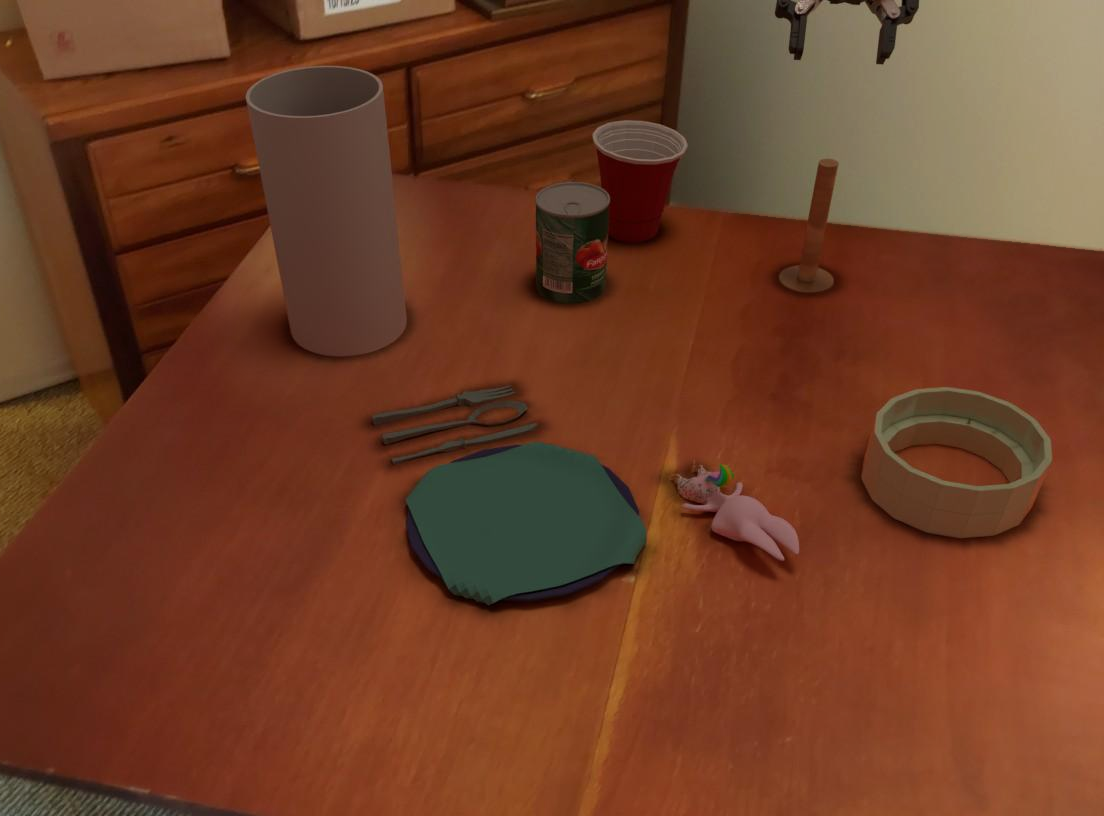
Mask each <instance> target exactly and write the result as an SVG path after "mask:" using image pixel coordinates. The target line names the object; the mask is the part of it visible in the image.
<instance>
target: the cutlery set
mask: <svg viewBox="0 0 1104 816" xmlns="http://www.w3.org/2000/svg"><path fill="white" fill-rule="evenodd" d="M514 395H516V391H514V389H513V388H512V386H511V384H509V385H505V386H502V387H497V388H487V389H479V390H473V391H466V390H463V392H462V394H460V393H455V397H453V398H449V399H445V400H442V401H439V402H438V401H437V402H435V403H433V404H428V405H423V406H418V407H412V408H407V409H406V408H405V409H399V410H398V409H397V410H392V411H391V410H390V411H388V412H387V411H386V412H383V413H375V414H373V415H371V420H372V424H373V426H377V425H382V424H386V423H387V424H388V423H392V422H395V421H399V420H403V419H404V420H405V419H408V418H412V417H416V416H421V415H425V414H429V413H433V412H438V411H442V410H444V409H447V408H451V407H454V406H458V407H461V406H463V405H466V406H468V407H470V408H471V407H475V406H479V405H482V404H485V405H483V406H481V407H478V408H476V409H475V410H474V411H473V412H472V413H471V414H470V415H469V416H468V418H467V419H464V420H463V419H462V420H454V421H449V422H448V421H447V422H444V423H436V424H427V425H423V426H419V427H413V428H407V429H404V430H398V431H393V432H389V433H388V432H387V433H383V434H381V440H382V442H383V445H385V446H386V445H390V444H393V443H396V442H400V441H403V440H407V439H410V438H413V437H414V438H415V437H419V436H421V435H425V434H429V433H434V432H437V431H443V430H447V429H452V428H457V427H461V426H467V425H482V426H487V427H491V426H501V425H505V424H507V423H509V422H512V421H514V420H516V419H518V418H519V417H520V416H521V415H522V414H524V413H525V412H526V411H527V410H528V409H529V407H528V406H527V405H526V403H525V402H523V401H517V400H516V401H515V400H503V401H496V400H501V399H504V398H508V397H512V396H514ZM494 401H496V402H494ZM489 402H491V403H489ZM486 403H488V404H486ZM502 407H506V408H513V409H516V411H518V415H516V416H514V417H512V418H509V419H507V420H504V421H495V422H488V423H487V422H481V421H477V419H476V418H477V417H478V416H479V415H480V414H481V413H483V412H485V411H487V410H490V409H495V408H502ZM537 428H538V422H534V423H531V424H530V423H529V424H526V425H523V426H522V425H521V426H518V427H513V428H511V429H505V430H502V431H497V432H494V433H490V434H486V435H481V436H478V437H474V438H469V439H466V440H464V438H463V437H462V436H460V437H459V439H458V440H456V441H455V440H448V441H447V440H446V441H445V442H444V443H442V444H440V445H439V446H437V447H433V448H428V449H425V450H423V451H419V452H416V453H413V454H408V455H403V456H399V457H390V461H391V463H392V465H393V466H395V465H397V464H400V463H403V462H407V461H409V460H413V459H416V458H420V457H423V456H429V455H433V454H436V453H453V452H455V451H457V450H461V449H463V450H465V449H466V448H467V447H473V446H479V445H486V444H491V443H494V442H495V443H496V442H499V441H505V440H507V439H508V440H509V439H511V438H515V437H519V436H524V435H527V434H529V433H532V432H533V431H534V430H536V429H537ZM631 491H632V490H631V489H630V487H629V486H628V485H627V484H626V483H625V482H624V481H623V480H622V479H621V478H620V477H619V476H618V475H617V474H616V473H615V472H614V471H613V470H612V469H610V468H609V467H608V466H606V465H604V464H602V463H601V462H600V460H599V459H598V458H597V456H596V455H594V454H592V453H591V454H590V453H585V452H584V451H580V450H579V451H578V450H577V451H576V450H574V449H573V448H565V447H564V446H560V445H554V444H553V443H545V442H543V441H531V442H528V443H525V444H513V445H512V444H511V445H505V446H498V447H491V448H484V449H481V450H478V451H476V452H473V453H470V454H467V455H465V456H462V457H459V458H457V459H454V460H451V461H450V462H449V463H444V464H438V465H436V466H433V467H432V468H431V469H429V470H428V471H426V472H425V473H424V475H423V476H422V477H421V478H420V479H419V481H418V482H417V483H416V484H415V486H414V487H413V488H412V490H411V491H410V492H409V494H408V495H407V496H406V497H405V498H404V501H405V503H406V504H407V506H408V512H407V515H406V519H405V525H406V529H407V534H408V540H409V545H410V548H411V550H412V551H413V553H415V555H416V556H417V557H418V559H419V561H420V562H421V563H422V564H423V566H424V567H425V569H427V571H428V572H429V573H431V574H433V575H434V576H436V577H437V578H439V579H440V580H442V581H443V582H444V584H445V585H446V587H447V589H448V590H449V592H450V593H452V594H453V595H454V596H459V597H464V598H465V599H470V600H474V601H475V602H477V603H483V604H486V605H487V606H490V605H492V604H494V603H496V602H499V601H512V602H513V601H514V602H515V601H516V602H530V603H531V602H536V601H541V600H548V599H554V598H560V597H566V596H569V595H572V594H574V593H576V592H579V591H581V590H583V589H586V588H588V587H591V586H592V585H595V584H598V583H599V582H601V581H603V580H604V579H605V578H606V577H607V576H609V575H610V574H611V573H612V572H614V570H616V569H617V568H618V567H619V566H621V565H622V564H631V565H635V563H636V560H637V557H638V556H639V554H640V552H642V550H643V548H644V546H645V545H646V543H647V529H646V526H645V524H644V521H643V520H642V518H641V517H640V509H639V506H638V504H637V502H636V500H635V498H634V495H633V494H632V492H631Z"/></svg>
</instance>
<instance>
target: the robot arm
mask: <svg viewBox="0 0 1104 816" xmlns="http://www.w3.org/2000/svg"><path fill="white" fill-rule="evenodd" d="M823 1H824V0H799V1H798V2H796V1H794V0H776V2H775V9H774V16H775V18H776V19H781V20H782V19H786V20H787V21H789V23H790V30H789V41H788V47H787V48H788V53H789V54H790V55H793V61H802V58H803V54H804V51H805V41H806V32H807V23H808V17H809V16H810V15H811V14H812V13H813V12H815V10H816V9H817V8H818V7H819V6H820V5H821V4H822V3H823ZM827 2H829V5H841V4H844V3H846V4H848V5H851V6H861V4H862V3H865V5H866V6H867V8H868V9H869V11H870V13H871V14H873V15H875V17H876V19H877V20H878V21H879V23H880V24H881V26H880V29H879V32H878V33H879V34H878V43H877V51H876V58H875V59H876V60H875V64H876V65H881V66H883V65H884V64H885V62H886V60H889V59H890V58H891V56H892V54H893V51H894V50H895V48H896V39H897V31H898V26H900V25H909V24H911V23H912V22H913V20H914V17H915V15H916V14H917V12H918V11H919V8H920V0H901V5H900V6H898V4H897V2H896V1H895V0H827Z"/></svg>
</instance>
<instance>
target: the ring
mask: <svg viewBox="0 0 1104 816" xmlns="http://www.w3.org/2000/svg"><path fill="white" fill-rule="evenodd" d="M927 445H939V446H946V447H952V448H959V449H961V450H964V451H966V452H969V453H971V454H974V455H976V456H979V457H981V458H984V459H985V460H986V461H987V462H989V463H990V464H991V465H993V466H994V467H996V468H997V469H998V470H1000V471H1001V472H1002V473H1003V475H1004V476H1005V478H1006V480H1007V481H1008V483H1000V484H989V485H987V484H986V485H973V484H969V483H968V484H967V483H962V482H954V481H949V480H944V479H941V478H938V477H937V476H935V475H932V474H929V473H927V472H925V471H922V470H919V469H917V468H915V467H912V466H911V465H910V464H909V463H908V462H907V461H905V460H904V459H903V458H902V457H900V456H899V455H898V454H896V453H897V452H899V451H901V450H904V449H906V448H910V447H915V446H927ZM1052 448H1053V447H1052V440H1051V438H1050V437H1049V435H1048V434H1047V432H1046V431H1045V429H1044V428H1043V427H1042V426H1041V424H1040V423H1039V422H1038V420H1037V419H1036V418H1035V417H1033V416H1031V415H1030V414H1029V413H1027V412H1025V411H1024V410H1022V409H1021V408H1019V407H1018V406H1017V405H1015V404H1014V403H1012V402H1010V401H1007V400H1005V399H1000V398H998V397H995V396H993V395H990V394H987V393H984V392H982V391H979V390H978V391H977V390H970V389H965V388H964V389H963V388H957V387H950V386H941V387H940V386H938V387H926V388H915V389H912V390H910V391H907V392H904V393H900V394H899V395H896V396H893V397H891V398H890V399H889V400H888V401H887V402H886V403H885V404H884V405H883V406H882V407H881V408H880V409H879V410H878V411H877V412H876V414H875V417H874V421H873V424H872V428H871V432H870V434H869V440H868V443H867V447H866V450H865V454H864V457H863V463H862V469H861V477H860V479H861V481H862V483H863V485H864V487H865V489H866V491H867V493H868V496H869V497H870V499H871V500H872V501H873V502H874V503H875V504H876V505H877V506H878V507H880V508H881V509H882V510H883V511H884V512H886V514H888V515H890V517H892V518H893V519H894V520H897V521H899V522H901V523H903V524H906V525H908V526H909V527H913V528H915V529H917V530H919V531H922V532H924V533H926V534H927V533H928V534H933V535H937V536H938V535H939V536H944V537H950V538H954V539H955V538H956V539H968V538H969V539H971V538H981V537H994V536H996V535H999V534H1001V533H1004V532H1006V531H1008V530H1010V529H1014V528H1015V527H1018V526H1019V525H1021V523H1022V521H1024V519H1025V517H1026V516H1027V515H1028V514H1029V512H1030V511H1031V510H1032V508H1033V506H1034V504H1035V501H1036V499H1037V497H1038V495H1039V492H1040V490H1041V488H1042V485H1043V483H1044V480H1045V478H1046V476H1047V473H1048V472H1049V469H1050V466H1051V465H1052V462H1053V452H1052V451H1053V450H1052Z"/></svg>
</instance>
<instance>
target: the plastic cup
mask: <svg viewBox="0 0 1104 816" xmlns="http://www.w3.org/2000/svg"><path fill="white" fill-rule="evenodd" d="M592 140H593V145H594V147H595V149H596V157H597V164H598V168H599V178H600V188H602V189H604V190H605V191H606V192H607V193H608V194H609V196H610V203H609V225H608V236H610V237H611V238H612V239H615V240H617V241H620V242H624V243H625V242H626V243H642V242H645V241H646V242H647V241H649V240H651V239H653V238H654V237H656V236H657V234H658V232H659V228H660V227H659V226H660V223H661V219H662V216H663V213H664V211H665V208H666V203H667V199H668V196H669V192H670V188H671V185H672V182H673V178H674V174H675V171H676V170H677V166H678V163H679V162H680V160H681V158H682V157H683V156H684V154H685V152H686V151H687V148H688V146H689V145H688V142H687V140H686V137H685V136H684V135H682V134H681V133H679V132H678V131H677V130H676V129H672V128H670V127H668V126H666V125H664V124H661V123H660V124H659V123H655V122H651V121H646V120H631V119H630V120H628V119H627V120H626V119H625V120H618V121H610V122H607V123H605V124H603V125H600V126H597V128H596V129H595V130H594V131H593V133H592Z"/></svg>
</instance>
